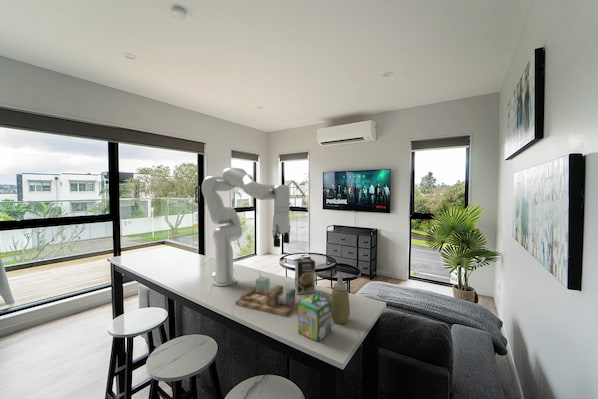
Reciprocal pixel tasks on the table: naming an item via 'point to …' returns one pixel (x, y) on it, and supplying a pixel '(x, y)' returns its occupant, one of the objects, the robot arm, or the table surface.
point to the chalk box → (314, 317)
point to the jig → (266, 301)
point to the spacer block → (262, 284)
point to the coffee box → (304, 276)
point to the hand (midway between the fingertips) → (281, 244)
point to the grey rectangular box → (286, 298)
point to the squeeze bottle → (340, 302)
